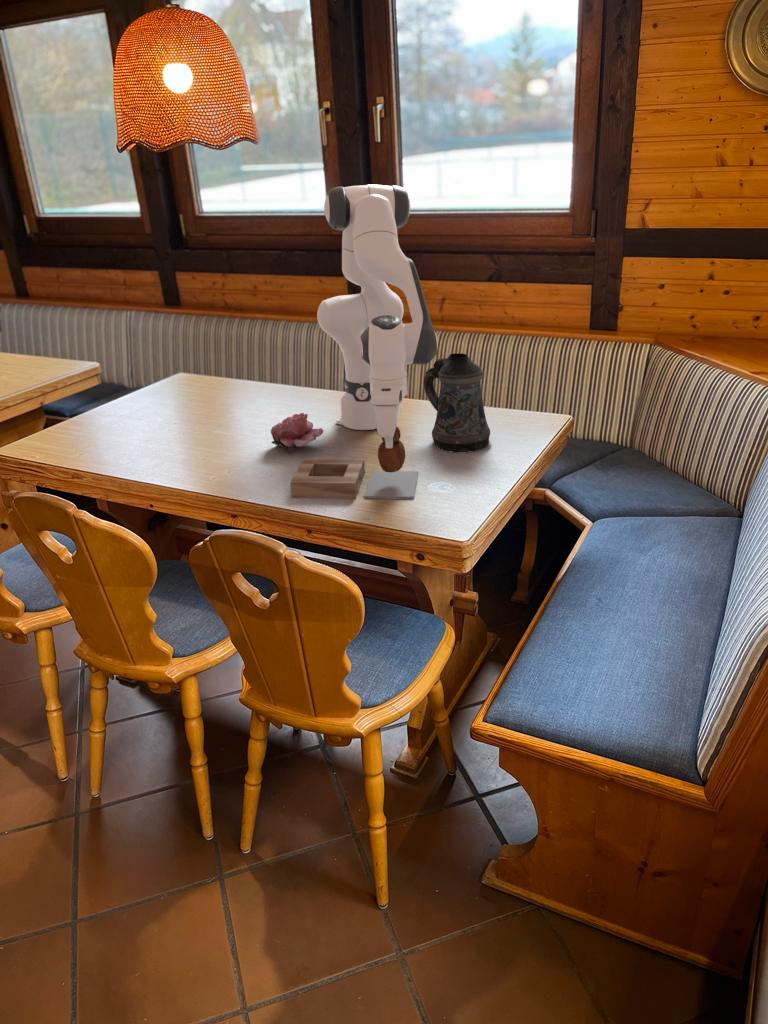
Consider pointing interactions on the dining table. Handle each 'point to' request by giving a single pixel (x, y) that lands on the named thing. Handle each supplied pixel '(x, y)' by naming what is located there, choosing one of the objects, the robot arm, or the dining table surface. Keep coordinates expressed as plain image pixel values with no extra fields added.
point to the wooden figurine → (392, 454)
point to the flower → (294, 431)
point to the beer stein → (457, 404)
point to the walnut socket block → (328, 478)
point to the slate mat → (392, 485)
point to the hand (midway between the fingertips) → (390, 442)
